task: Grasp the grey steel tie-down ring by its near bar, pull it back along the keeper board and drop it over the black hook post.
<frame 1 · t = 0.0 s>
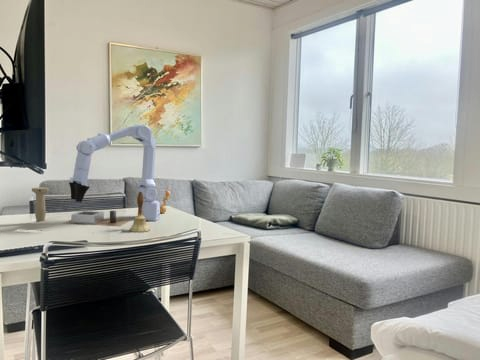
hand: (76, 200, 168), 11 cm above the table, tool pointing down, fingers open, 7 cm apart
hand bell: (139, 230, 165), on the table
ring: (88, 221, 173), point 1 cm above the table, touching keeper
keeper: (100, 224, 173), on the table
handle: (40, 223, 171), on the table
figurine: (164, 213, 206), on the table
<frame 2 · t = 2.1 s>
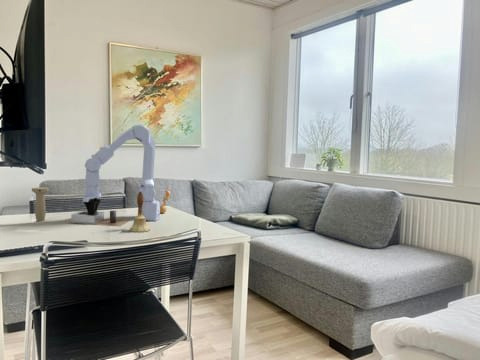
hand: (92, 215, 178), 3 cm above the table, tool pointing down, fingers closed on ring, 2 cm apart
ring: (88, 221, 173), point 1 cm above the table, touching gripper, keeper
everything else where it was.
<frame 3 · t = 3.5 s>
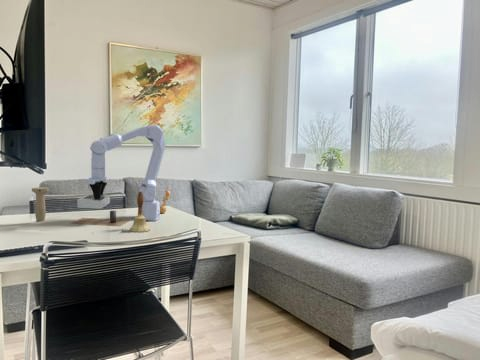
hand: (98, 198, 177), 10 cm above the table, tool pointing down, fingers closed on ring
ring: (94, 205, 173), point 8 cm above the table, tilted 6°, touching gripper
everything else where it was.
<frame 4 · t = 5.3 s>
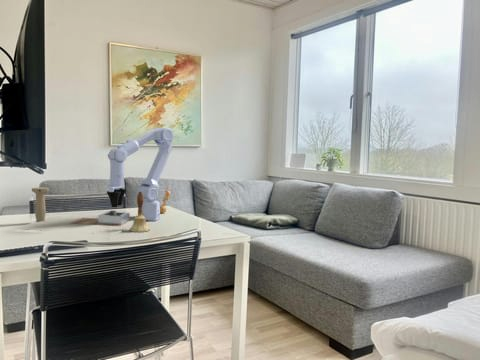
hand: (116, 206, 176), 7 cm above the table, tool pointing down, fingers open, 5 cm apart
ring: (114, 221, 174), point 1 cm above the table, touching keeper
everything else where it was.
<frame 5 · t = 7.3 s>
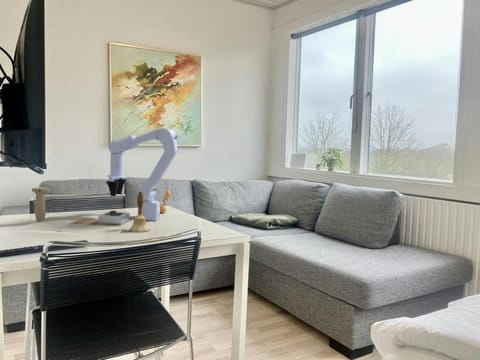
hand: (116, 195, 190), 10 cm above the table, tool pointing down, fingers open, 7 cm apart
nothing on the table moved.
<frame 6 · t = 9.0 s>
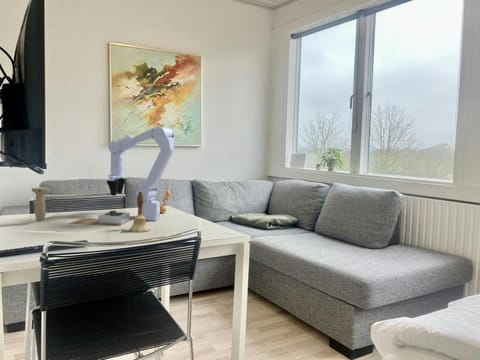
hand: (116, 194, 192), 10 cm above the table, tool pointing down, fingers open, 7 cm apart
nothing on the table moved.
at the end: ring 1.3 cm from the target spot on the keeper, point 1.0 cm above the keeper's base; ring tilted 0°; the gripper is holding nothing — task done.
